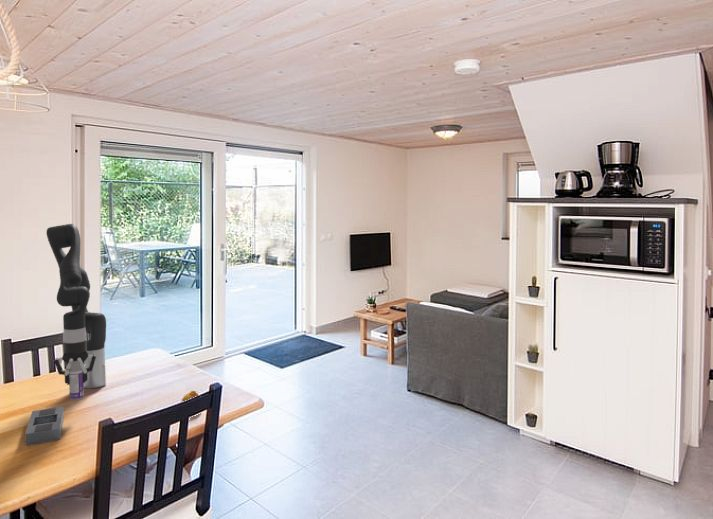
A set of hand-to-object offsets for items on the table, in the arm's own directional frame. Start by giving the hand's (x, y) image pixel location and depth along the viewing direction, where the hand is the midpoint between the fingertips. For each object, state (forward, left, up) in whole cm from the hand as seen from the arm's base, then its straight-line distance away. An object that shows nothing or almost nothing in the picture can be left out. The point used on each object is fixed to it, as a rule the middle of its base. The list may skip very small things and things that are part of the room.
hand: (76, 382), depth 182 cm
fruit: (-40, +10, -14) cm, 44 cm away
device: (+10, +6, -14) cm, 18 cm away
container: (0, 0, -6) cm, 6 cm away
